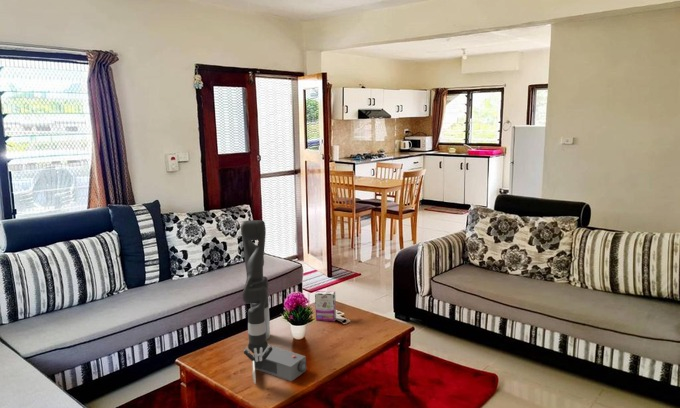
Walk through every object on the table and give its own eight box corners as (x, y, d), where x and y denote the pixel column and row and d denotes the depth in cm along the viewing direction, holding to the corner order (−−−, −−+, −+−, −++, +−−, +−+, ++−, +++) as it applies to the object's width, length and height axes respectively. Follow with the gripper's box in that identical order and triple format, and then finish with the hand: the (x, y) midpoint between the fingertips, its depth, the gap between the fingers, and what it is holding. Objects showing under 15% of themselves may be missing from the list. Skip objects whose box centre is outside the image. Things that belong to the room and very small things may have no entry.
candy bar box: (336, 318, 278) (335, 291, 275) (334, 321, 273) (334, 294, 270) (317, 317, 280) (316, 290, 277) (315, 320, 275) (314, 293, 272)
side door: (251, 367, 223) (251, 355, 222) (254, 366, 223) (253, 354, 222) (253, 383, 209) (252, 370, 208) (256, 383, 209) (255, 370, 208)
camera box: (253, 368, 223) (253, 353, 222) (269, 358, 232) (268, 343, 231) (294, 382, 211) (293, 366, 209) (309, 371, 220) (308, 355, 218)
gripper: (241, 336, 203) (243, 374, 206) (273, 333, 205) (275, 370, 208) (241, 329, 210) (243, 366, 213) (271, 325, 213) (273, 362, 216)
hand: (259, 368), depth 211 cm, fingers closed
